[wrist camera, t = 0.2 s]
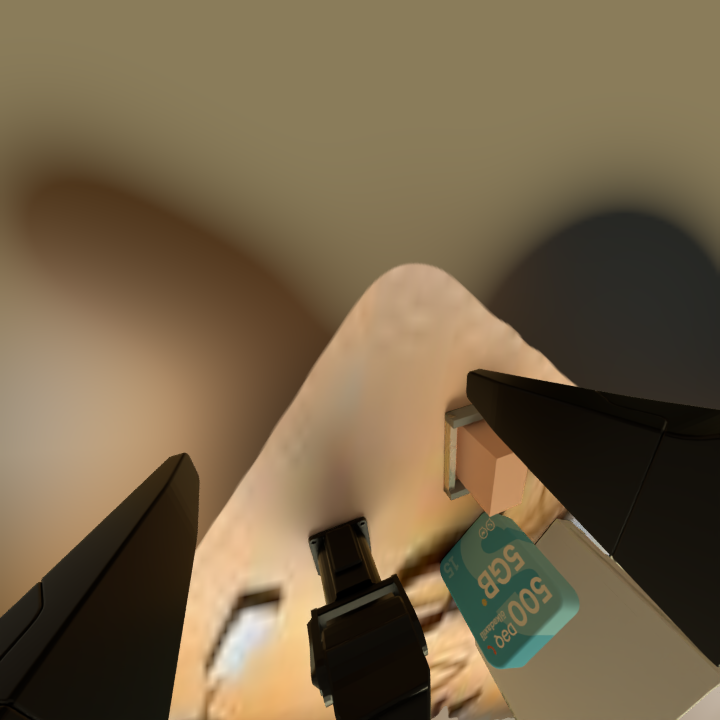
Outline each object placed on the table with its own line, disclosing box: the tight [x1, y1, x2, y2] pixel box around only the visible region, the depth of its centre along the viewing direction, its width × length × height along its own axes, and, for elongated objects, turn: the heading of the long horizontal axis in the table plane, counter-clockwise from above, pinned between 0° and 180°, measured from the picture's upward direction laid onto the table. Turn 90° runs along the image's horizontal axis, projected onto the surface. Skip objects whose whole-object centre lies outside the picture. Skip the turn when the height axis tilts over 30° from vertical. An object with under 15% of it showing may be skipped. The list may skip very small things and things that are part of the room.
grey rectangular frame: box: [444, 404, 483, 500], centre depth 34 cm, size 12×8×2 cm, turn 6°
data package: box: [440, 512, 580, 669], centre depth 37 cm, size 12×4×12 cm, turn 143°
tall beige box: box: [456, 419, 528, 517], centre depth 32 cm, size 8×4×6 cm, turn 6°
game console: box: [475, 519, 720, 720], centre depth 44 cm, size 6×27×20 cm, turn 151°
